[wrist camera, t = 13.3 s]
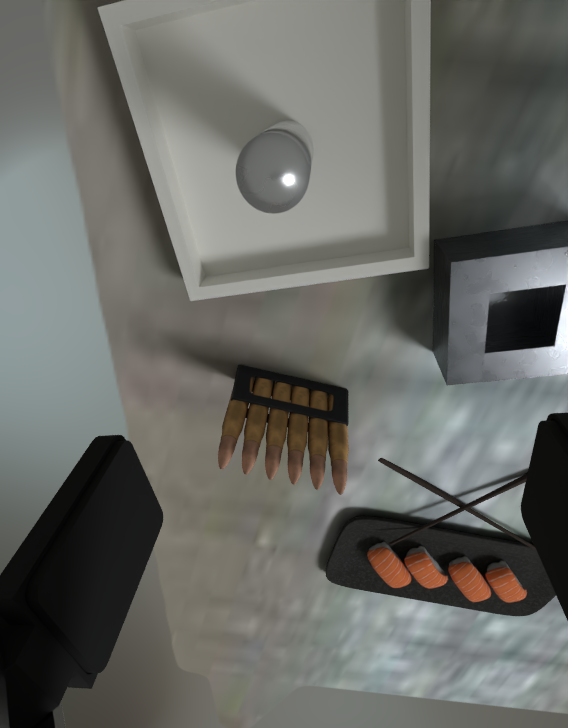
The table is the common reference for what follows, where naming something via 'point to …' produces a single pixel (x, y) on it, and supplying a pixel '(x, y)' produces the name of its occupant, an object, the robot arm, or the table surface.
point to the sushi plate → (441, 561)
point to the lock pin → (276, 167)
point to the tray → (268, 106)
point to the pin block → (502, 304)
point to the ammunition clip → (287, 424)
